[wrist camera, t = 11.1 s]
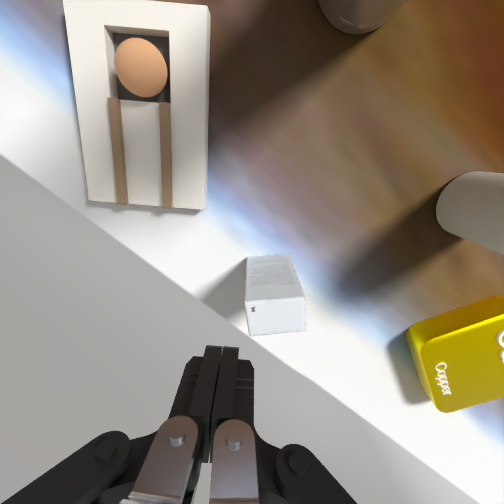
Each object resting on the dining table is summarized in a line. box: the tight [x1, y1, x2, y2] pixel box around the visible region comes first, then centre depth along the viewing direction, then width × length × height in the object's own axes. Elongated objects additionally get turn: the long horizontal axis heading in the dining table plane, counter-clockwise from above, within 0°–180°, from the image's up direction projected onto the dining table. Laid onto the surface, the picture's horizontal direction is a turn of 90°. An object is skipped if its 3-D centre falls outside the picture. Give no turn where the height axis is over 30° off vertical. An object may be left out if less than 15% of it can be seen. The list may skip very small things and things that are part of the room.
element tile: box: [406, 296, 504, 413], centre depth 41 cm, size 15×15×5 cm
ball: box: [114, 38, 167, 97], centre depth 28 cm, size 5×5×5 cm
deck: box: [63, 0, 210, 210], centre depth 30 cm, size 20×14×3 cm
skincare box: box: [244, 253, 306, 336], centre depth 33 cm, size 6×4×12 cm
